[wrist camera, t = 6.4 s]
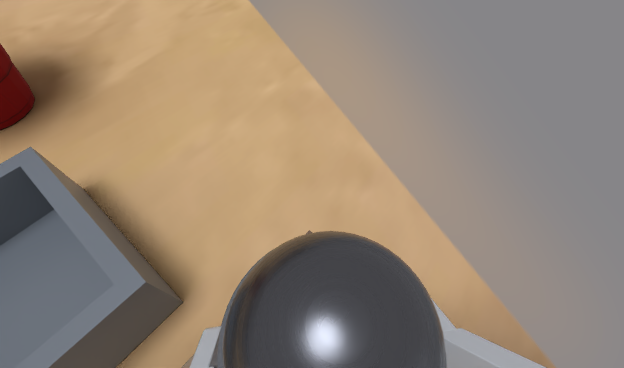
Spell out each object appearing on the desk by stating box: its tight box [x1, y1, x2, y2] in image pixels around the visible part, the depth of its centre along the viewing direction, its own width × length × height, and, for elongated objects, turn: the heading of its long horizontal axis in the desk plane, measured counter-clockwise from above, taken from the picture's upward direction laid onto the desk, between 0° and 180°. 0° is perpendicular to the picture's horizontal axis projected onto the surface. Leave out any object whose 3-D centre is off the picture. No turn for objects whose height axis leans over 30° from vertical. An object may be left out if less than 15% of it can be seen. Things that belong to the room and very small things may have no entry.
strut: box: [217, 231, 447, 368], centre depth 9 cm, size 4×4×12 cm
